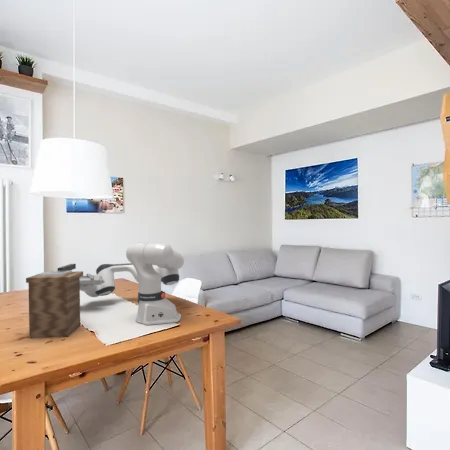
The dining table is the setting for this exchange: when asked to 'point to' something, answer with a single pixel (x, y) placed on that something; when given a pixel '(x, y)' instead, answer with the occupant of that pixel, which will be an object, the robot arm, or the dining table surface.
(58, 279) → the stand
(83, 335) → the dining table surface
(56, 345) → the dining table surface
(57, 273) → the turner
